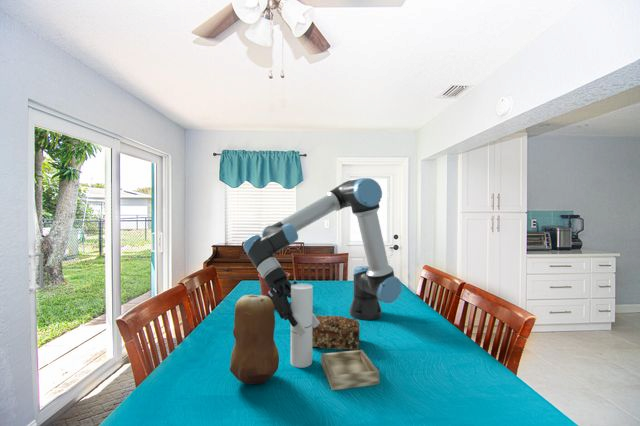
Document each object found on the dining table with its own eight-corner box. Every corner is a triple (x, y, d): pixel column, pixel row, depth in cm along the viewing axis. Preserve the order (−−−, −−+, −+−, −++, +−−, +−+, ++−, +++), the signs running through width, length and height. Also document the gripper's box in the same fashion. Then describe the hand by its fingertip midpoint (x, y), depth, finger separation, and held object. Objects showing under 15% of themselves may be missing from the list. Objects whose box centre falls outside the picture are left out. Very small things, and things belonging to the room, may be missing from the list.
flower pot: (296, 303, 160) (296, 273, 160) (275, 312, 146) (275, 279, 146) (272, 298, 169) (272, 269, 168) (251, 306, 155) (251, 275, 154)
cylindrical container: (309, 368, 95) (309, 289, 94) (287, 366, 96) (288, 288, 96) (314, 357, 102) (314, 284, 101) (294, 355, 103) (294, 283, 103)
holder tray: (362, 360, 100) (362, 349, 100) (379, 384, 86) (379, 372, 86) (321, 364, 97) (321, 353, 97) (332, 390, 83) (332, 377, 83)
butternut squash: (268, 364, 97) (268, 287, 97) (286, 384, 86) (286, 297, 85) (224, 376, 90) (224, 293, 89) (238, 401, 78) (238, 306, 78)
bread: (307, 348, 109) (307, 321, 108) (312, 336, 119) (312, 311, 119) (359, 352, 106) (359, 324, 106) (359, 339, 117) (359, 313, 116)
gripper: (284, 274, 115) (320, 325, 107) (245, 285, 98) (284, 347, 90) (296, 262, 112) (333, 313, 104) (257, 271, 95) (298, 334, 87)
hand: (310, 329), depth 97 cm, fingers closed on cylindrical container, 7 cm apart
